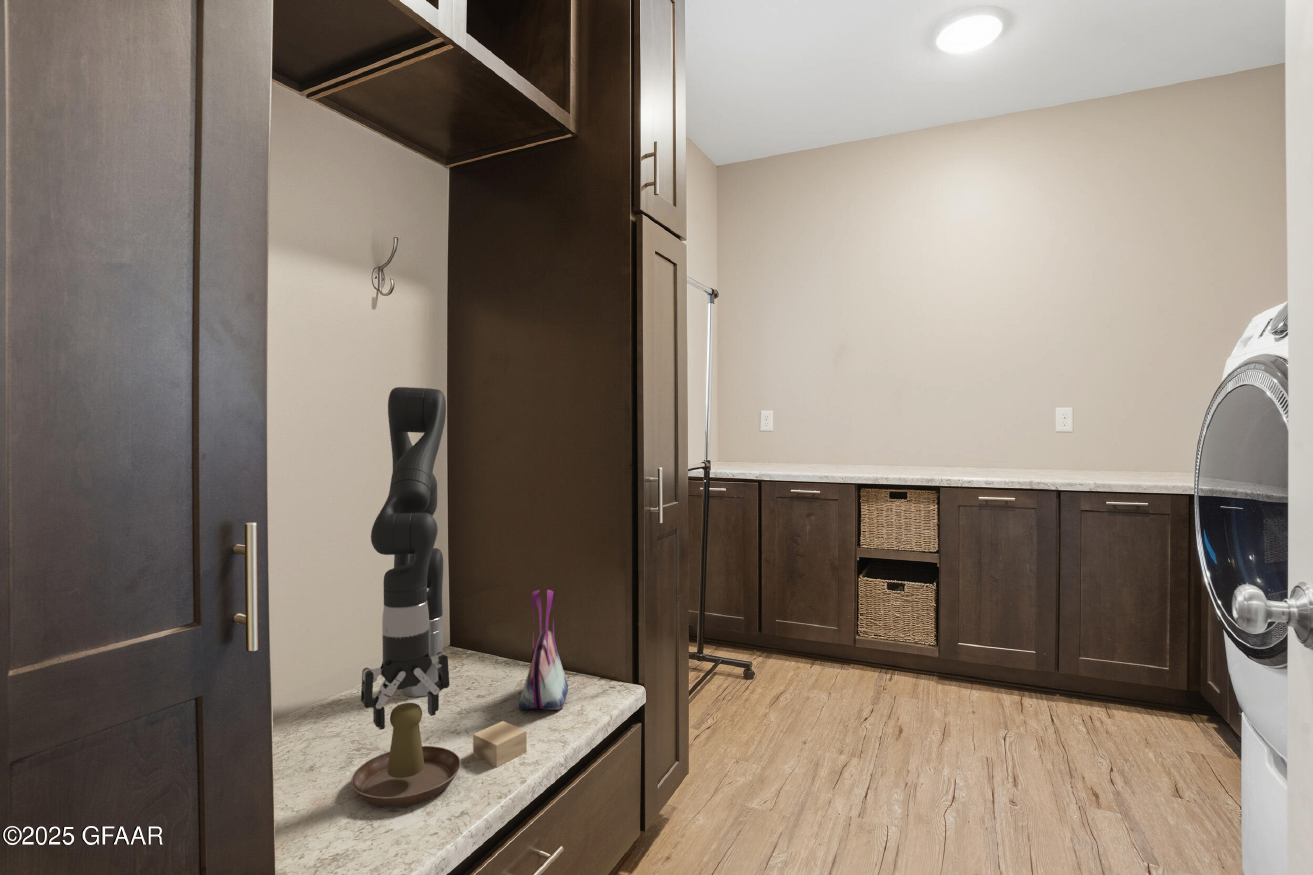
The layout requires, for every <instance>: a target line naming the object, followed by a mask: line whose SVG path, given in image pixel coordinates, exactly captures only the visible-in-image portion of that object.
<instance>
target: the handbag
mask: <svg viewBox="0 0 1313 875" xmlns="http://www.w3.org/2000/svg"><path fill="white" fill-rule="evenodd" d="M540 592H541V591H540V589H537V590H534V591H533V592H532V594H531V610H532V618H533V622H535V603H536V606H537V609H538V615H539V617H538V618H539V636H538V638H537V641H536V645H535V633H534V631H533V634H532V653H531V654H532V656H531V661H530V664H529V665H530V667H529V670H528V673H527V675H526V676H527V677H526V679H525V683H524V685H523V688H522V691H521V695H520V698H519V701H518V709H519V710H538V709H540V710H549V711H550V710H551V711H553V710H554V711H555V710H556V711H557V710H561V709H563V708H564V705H565V702H566V698H567V695H568V691H569V690H568V689H569V686H568V680H567V677H566V674H565V670H564V669H563V668H564V667H563V665H562V662H561V658H560V655H559V652H558V648H557V644H556V640H555V626H554V624H555V622H554V621H552V622H553V623H552V631H551V630H550V629H549V618H550V614H551V611H552V609H554V607H555V601H556V592H555V591H553V590H551V589H547V591H546V597H547V598H546V600H547V601H546V614H545V629H544V630H542V620H543V619H542V618H543V617H542V615H543V612H542V611H543V610H542V601H541V593H540Z"/></svg>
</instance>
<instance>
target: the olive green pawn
mask: <svg viewBox="0 0 1313 875" xmlns="http://www.w3.org/2000/svg"><path fill="white" fill-rule="evenodd" d="M422 717H423V711H422V708H421V706H420V705H419V704H418V703H416V702H404V703H400V704H397V705H396V706H395V707H393V708H392V711H391V713H390V716H389V721H390V725H391V726H392V734H391V744H390V750H389V752H390V755H389V762H388V769H387V773H388V775H390V776H391V777H394V778H406V777H410V776H413V775H416V774H418V773H419V772H421V771H422V770H423V768H424V758H423V751H422V746H423V744H422V738H421V737H422V736H421V730H420V725H419V724H420V723H421V721H422Z"/></svg>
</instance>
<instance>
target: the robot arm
mask: <svg viewBox="0 0 1313 875" xmlns="http://www.w3.org/2000/svg"><path fill="white" fill-rule="evenodd" d="M387 400H388V401H387V417H388V427H389V436H390V445H391V446H390V448H391V456H392V472H391V473H392V474H391V479H390V480H391V481H390V485H389V492H388V496H387V498H386V499H385V502H384V504H383V505H382V508H381V509H380V511H379V513H378V514H377V516H376V518H375V520H374V522H373V525H372V528H371V532H370V542H371V546H372V548H374V550H375V551H376V552H377V553H379V555H380V554H381V555H383V556H384V555H385V556H391V555H392V556H394V558H393V561H394V562H393V568H390V569H388V570H387V571H386V572H385V573H384V575H383V611H382V617H381V620H382V621H381V622H382V626H381V628H382V634H381V635H382V661H381V662H382V664H381V665H380V667H376V668H375V667H374V668H369V667H364V668H363V669H362V671H361V672H362V674H361V675H362V676H361V690H360V692H361V694H360V703H361V704H363V707H364V708H365V709H369V708H372V714H373V716H372V718H373V724H374V725H375V727H376V728H378V730H380V731H381V730H385V729H386V722H385V721H386V720H385V719H386V718H385V717H386V714H385V713H386V712H385V707H384V706H385V704H386V703H387V701H388V700H389V698H391V697H392V695H393V694H394V692H395V691H396V690H398V691H401V693H402V694H403V695H404V696H407V697H426V696H427V713H428V715H430V716H431V717H432V716H436V714H437V713H436V712H438V710H439V706H440V702H439V701H440V700H439V698H440V696H439V694H440V692H441V691H443V690H444V689H446V690H447V689H448V688H449V687H450V685H451V684H450V671H449V658H448V656H447V655H446V654H445V653H444V635H443V634H444V627H443V625H444V624H443V620H444V619H443V582H444V580H443V579H444V556H443V552H442V550H441V549H440V548H438V547H435V543H436V542H437V536H438V528H439V527H438V523H437V521H436V519H435V517H433V516H434V515H435V512H436V511H437V508H438V482H437V481H438V480H437V479H436V476H435V474H434V471H433V470H434V466H435V462H436V459H437V455H438V452H439V449H440V444H441V441H442V436H443V432H444V428H445V422H446V417H447V416H446V415H447V403H446V401H447V400H446V397H445V394H444V392H443V391H442V390H440V389H436V388H429V387H426V388H425V387H411V386H406V387H405V386H398V387H394V388H392V389H391V391H390V393H389V395H388V399H387ZM409 433H416V434H417V433H419V434H420V433H422V434H423V435H422V436H421V437H420V438H419V439H418V440H417V442H415V443H414V444H412V442H411V438H410V436H409ZM379 676H382V678H384V680H383V682H382V683H381V684H380V686H379V688H378V691H377V692H376V693H375V695H374V696H373V693H374V692H373V689H374V683H376V682H377V681H378V678H379Z"/></svg>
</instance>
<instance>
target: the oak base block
mask: <svg viewBox="0 0 1313 875" xmlns="http://www.w3.org/2000/svg"><path fill="white" fill-rule="evenodd" d="M527 743H528V742H527V730H525V729H522V728H520V727H518V726H515V725H513V724H511V723H508V722H506V721H504V720H502V721H500V722H497V723H495V724H493V725H491V726H489V727H486V728H484V729H482V730H479V731H477V732H475V733H472V753H473V756H474V757H476V758H478V759H480V760H482V761H484V762H485V763H488V764H490V765H492V766H493V767H496V768H497V767H500V766H502V765H503V764H505V763H508V762H510V761H512V760H514V759H515V758H517V757H519V756H522V755H523V754H526V753H527V751H528V750H527V747H528V746H527Z"/></svg>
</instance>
